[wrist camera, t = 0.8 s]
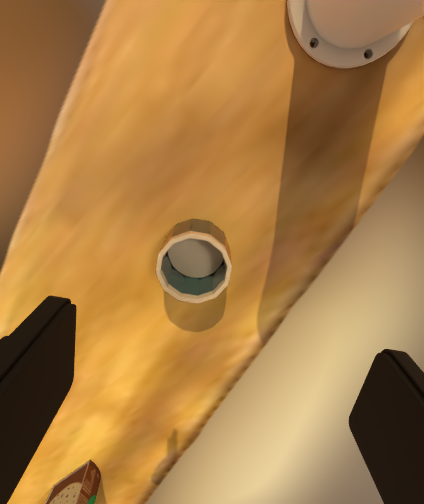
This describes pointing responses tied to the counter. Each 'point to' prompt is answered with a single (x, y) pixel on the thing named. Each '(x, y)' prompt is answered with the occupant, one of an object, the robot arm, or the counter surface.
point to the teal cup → (194, 261)
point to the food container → (77, 486)
